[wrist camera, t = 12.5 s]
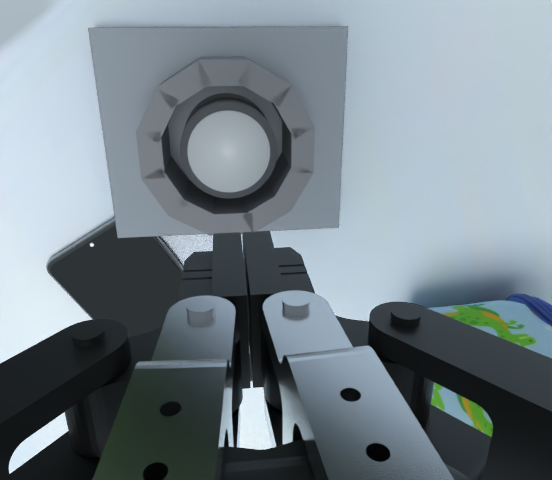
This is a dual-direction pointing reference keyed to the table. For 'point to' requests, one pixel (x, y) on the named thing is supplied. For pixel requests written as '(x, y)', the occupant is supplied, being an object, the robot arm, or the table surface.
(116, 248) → the smartphone
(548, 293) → the table surface
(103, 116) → the square flange plate
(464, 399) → the lunch box
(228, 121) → the cap
